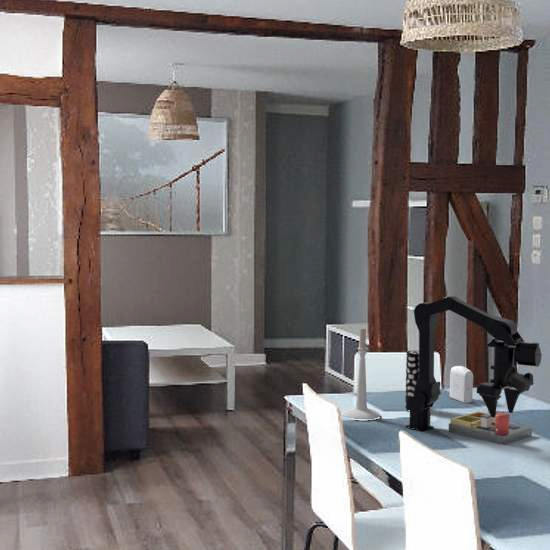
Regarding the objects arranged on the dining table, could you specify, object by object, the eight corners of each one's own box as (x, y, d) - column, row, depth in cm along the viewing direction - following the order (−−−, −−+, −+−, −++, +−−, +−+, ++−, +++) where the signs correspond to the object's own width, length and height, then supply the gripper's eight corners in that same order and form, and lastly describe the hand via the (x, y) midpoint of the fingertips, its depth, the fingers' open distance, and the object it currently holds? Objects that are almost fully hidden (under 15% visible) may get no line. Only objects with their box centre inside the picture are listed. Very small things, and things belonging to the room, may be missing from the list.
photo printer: (474, 402, 300) (475, 368, 300) (464, 403, 299) (465, 369, 298) (457, 396, 310) (458, 363, 309) (447, 397, 308) (448, 364, 308)
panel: (503, 444, 245) (503, 431, 244) (448, 431, 259) (448, 418, 259) (531, 435, 255) (532, 422, 255) (477, 423, 270) (478, 411, 269)
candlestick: (335, 413, 281) (337, 325, 279) (369, 410, 286) (371, 323, 284) (352, 422, 269) (353, 330, 267) (387, 419, 274) (389, 328, 272)
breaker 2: (498, 424, 258) (499, 413, 257) (493, 422, 259) (493, 411, 259) (503, 422, 259) (503, 411, 259) (497, 421, 261) (497, 410, 260)
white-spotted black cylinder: (431, 413, 284) (432, 354, 282) (406, 412, 284) (408, 354, 282) (427, 407, 292) (428, 350, 290) (403, 407, 292) (404, 350, 291)
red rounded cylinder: (503, 436, 245) (504, 417, 244) (492, 432, 248) (492, 414, 247) (511, 433, 248) (512, 415, 247) (499, 429, 251) (500, 412, 250)
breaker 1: (486, 427, 253) (486, 416, 252) (480, 426, 254) (481, 415, 254) (491, 426, 254) (491, 415, 254) (485, 425, 256) (485, 414, 256)
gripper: (510, 370, 234) (508, 425, 235) (545, 363, 247) (543, 415, 248) (476, 364, 243) (474, 417, 244) (512, 358, 255) (510, 408, 256)
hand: (501, 415), depth 248 cm, fingers open, 9 cm apart
